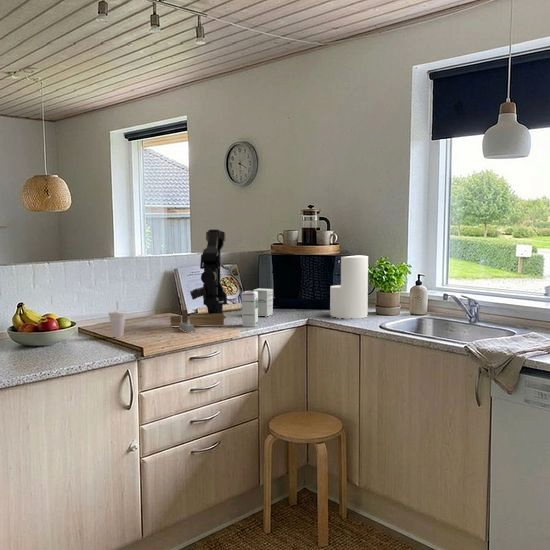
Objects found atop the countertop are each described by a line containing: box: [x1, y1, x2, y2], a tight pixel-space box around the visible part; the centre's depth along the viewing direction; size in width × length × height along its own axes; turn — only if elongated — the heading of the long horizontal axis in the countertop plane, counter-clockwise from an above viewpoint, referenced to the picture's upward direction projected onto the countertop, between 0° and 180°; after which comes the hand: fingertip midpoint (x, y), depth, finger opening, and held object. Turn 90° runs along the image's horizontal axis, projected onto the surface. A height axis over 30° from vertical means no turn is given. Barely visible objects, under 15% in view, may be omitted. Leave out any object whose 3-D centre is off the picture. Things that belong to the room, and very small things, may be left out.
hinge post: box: [170, 309, 189, 327], centre depth 234 cm, size 2×7×7 cm, turn 119°
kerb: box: [178, 321, 195, 333], centre depth 226 cm, size 9×3×3 cm, turn 29°
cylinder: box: [329, 255, 369, 319], centre depth 261 cm, size 17×17×28 cm
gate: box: [189, 313, 225, 326], centre depth 236 cm, size 2×14×5 cm, turn 93°
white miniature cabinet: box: [241, 290, 259, 328], centre depth 237 cm, size 6×6×14 cm
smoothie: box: [108, 300, 127, 338], centre depth 212 cm, size 6×6×14 cm
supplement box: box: [252, 287, 274, 318], centre depth 264 cm, size 7×7×13 cm
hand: (210, 318), depth 238 cm, fingers closed
